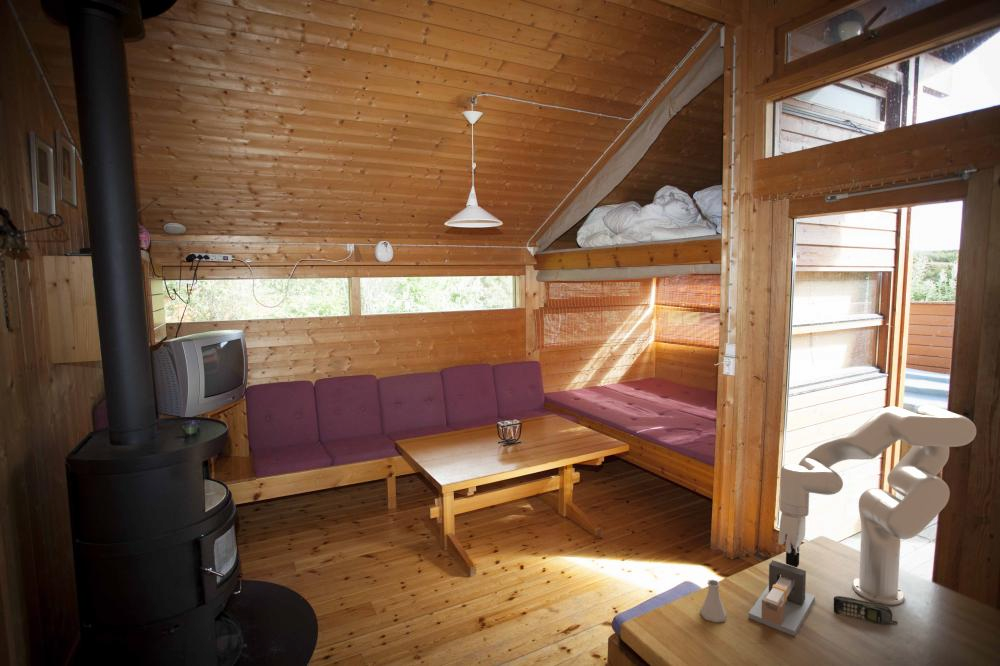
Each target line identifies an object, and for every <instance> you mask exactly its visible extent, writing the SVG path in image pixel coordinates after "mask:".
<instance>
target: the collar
mask: <svg viewBox="0 0 1000 666" xmlns="http://www.w3.org/2000/svg"><path fill="white" fill-rule="evenodd" d="M806 573H807V571H806V570H804V569H801V568H798V567H794V566H791V565H788V564H786V563H783V562H779V561H777V560H773V559H772V560H771V562H770V563H769V565H768V585H769V593H770V591H771V590H772V586H773V584H776V583H777V581H778V580H779V578H780V577H781V576H784V577H787V578H790V579H793V580H794V589H792V590H791V592H790V593H789V595H788V596H787V599H788V600H791V601H793V602H796V603H799V604H803V602H804V601H805V593H806V586H807V585H806V584H807V583H806V580H807V579H806V578H807V577H806V576H807V574H806Z"/></svg>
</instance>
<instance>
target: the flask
mask: <svg viewBox="0 0 1000 666" xmlns="http://www.w3.org/2000/svg"><path fill="white" fill-rule="evenodd" d="M707 585H708V590H707V594H706V597H705V599H704V602H703V604H702V606H701V609H700V612H699V613H700V615H701V617H703V619H704V620H706V621H710V622H713V623H723V622H726V620H727V615H728V614H727V612H726V609H725V607H724V605H723V602H722V600H721V596H720V591H719V587H720V582H719V581H718V580H715V579H708V580H707Z"/></svg>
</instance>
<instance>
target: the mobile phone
mask: <svg viewBox="0 0 1000 666" xmlns="http://www.w3.org/2000/svg"><path fill="white" fill-rule="evenodd" d="M833 613H835V614H837V615H841V616H845V617H848V618H854V619H857V620H858V619H859V620H862V621H866V622H870V623H872V622H873V624H882V625H883V624H884V625H889V624H894V625H898V621H896V620H893V612H892V610H891V608H890V607H888V606H886V605H884V604H882V605H881V603H877V602H873V601H866V600H860V599H857V598H853V597H847V596H842V595H836V596H834V597H833Z"/></svg>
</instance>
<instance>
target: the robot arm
mask: <svg viewBox="0 0 1000 666" xmlns="http://www.w3.org/2000/svg"><path fill="white" fill-rule="evenodd" d="M976 435H977V427H976V425H975V424H974V422H973V421H972V420H971V419H970V418H968V417H967V416H964V415H962V414H958V413H955V412H953V411H949V410H948V409H945V408H941V407H939V406H935V405H928V404H926V405H920V406H919V407H917V408H916V409H915V410H914V412H913V411H911V410H908V409H905V408H902V407H899V406H894V405H893V406H887V407H884V408H882V409H881V410H880V411H878V412H877V413H876V414H874V415H873V416H872V417H871V418H869V419H868V420H867V421H865V422H864V423H863V424H861V425H860V426H859V427H858V428H856V429H855V430H854V431H853V432H851V433H850V434H848V435H847V436H843V437H839V438H836V439H833V440H831V441H827V442H824V443H822V444H820V445H818V446H817V447H815V448H814V449H812V450H810V451H809V453H807V454H806V455H805V456H803V458H801V460H800V461H799V463H798V464H796V463H794V464H793V463H789V464H788V463H787V464H784V465H783V466H782V467H781V468H780V482H779V486H780V489H779V511H780V513H781V515H780V521H779V529H778V532H779V533H778V544H779V545H780V546H783V545H784V543H785V551H784V552H785V564H786V565H789V566H792V567H795V568H798V567H799V565H800V550H801V549H800V548H801V544H802V542H803V541H804V539H805V536H806V517H807V516H809V512H810V509H809V508H810V507H809V506H810V493H811V494H817V495H825V496H829V495H830V496H831V495H836V494H837V493H839V492H840V491H841V490H842V489H843V485H844V482H843V479H842V477H841V475H840V474H838V473H837V472H836V471H835V470H834V469H832V468H831V467H833V466H834V465H835V464H837V463H840V462H843V461H847V460H873V459H875V458H876V457H878V456H880V455H881V454H882V453H883V452H885V451H886V450H887V449H888V448H890V447H891V446H892V445H893V444H895V443H896V442H898V441H899V440H900V441H902V442H903V443H906V444H908V445H912V446H911V448H910V450H908V452H907V453H906V454H905V455H904V456H903V457H902V458H901V459H900V460H899V462H897V463H896V464H895V466H893V468H892V469H891V471H889V473H888V475H887V481H886V482H887V484H888V485H889V487H890V488H891V489H892V490H894V492H896V493H898V494H899V495H901V496H902V497H903V499H902V500H901V499H900V498H898V497H897V496H895V495H893V494H892V493H890V492H889V491H887V490H884V489H880V488H869V489H867V490H865V491H864V492H863V493H861V495H860V497H859V500H858V512H859V517H860V526H861V527H860V530H861V531H860V532H861V533H860V551H859V553H860V554H859V574H858V575H859V577H856V578H854V579H853V582H852V587H853V590H854V591H855V592H856V593H857V594H858V595H859V596H861V597H863V598H865V599H867V600H869V601H870V602H873V603H876V604H880V605H881V604H882V605H890V606H892V605H898V604H902V602H904V600H905V593H904V591H903V590H902V589H901V588H900V587H899V576H900V575H899V571H900V556H901V555H900V553H901V540H909V539H912V538H914V537H917V535H919V534H920V533H922V532H923V531H924V530H925V528H926V527H927V526H928V525H929V524H930V523H931V522H932V521H933V520H934V519H935V518H936V517H937V516H938V515H939V514H940V512H941V511H942V510H943V509H944V508H945V507H946V506H947V504H948V502H949V499H950V493H951V492H950V491H951V490H950V488H949V485H948V484H947V482H946V481H944V480H943V479H942V478H941V477H939V476H938V474H939V473H940V471H941V470H942V469H943V468H944V467H945V465H947V462H948V460H949V457H950V447H951V448H953V447H954V448H955V447H956V448H957V447H963V446H966V445H969V444H970V443H971V442H972V441H974V440H975V438H976Z"/></svg>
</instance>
